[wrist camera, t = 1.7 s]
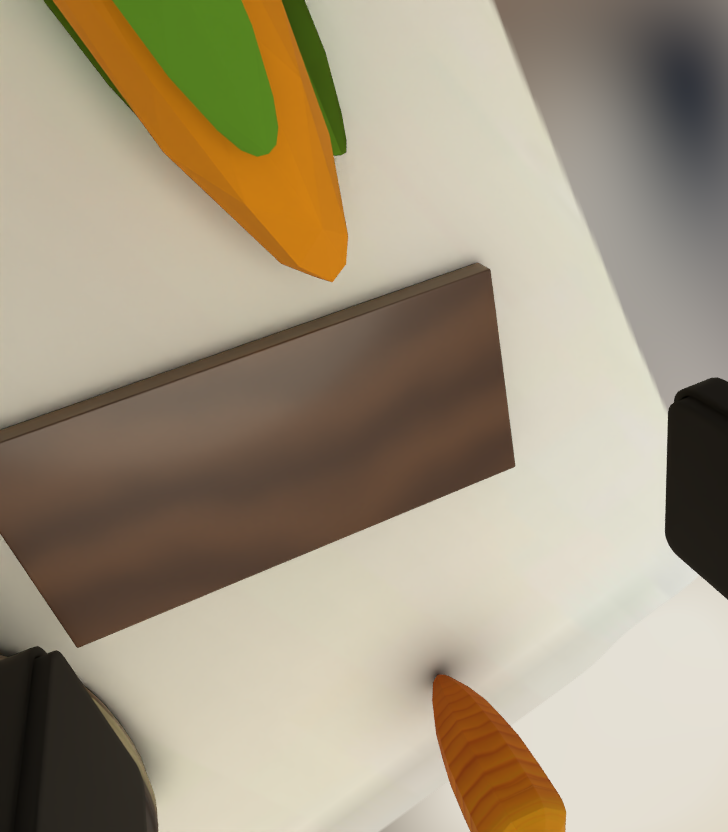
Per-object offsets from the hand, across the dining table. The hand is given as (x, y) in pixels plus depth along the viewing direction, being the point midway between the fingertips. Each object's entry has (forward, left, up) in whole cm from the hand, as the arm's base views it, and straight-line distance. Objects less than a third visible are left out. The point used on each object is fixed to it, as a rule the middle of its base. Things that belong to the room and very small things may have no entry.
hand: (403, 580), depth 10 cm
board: (+10, 0, -20) cm, 22 cm away
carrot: (+30, +5, -20) cm, 36 cm away
